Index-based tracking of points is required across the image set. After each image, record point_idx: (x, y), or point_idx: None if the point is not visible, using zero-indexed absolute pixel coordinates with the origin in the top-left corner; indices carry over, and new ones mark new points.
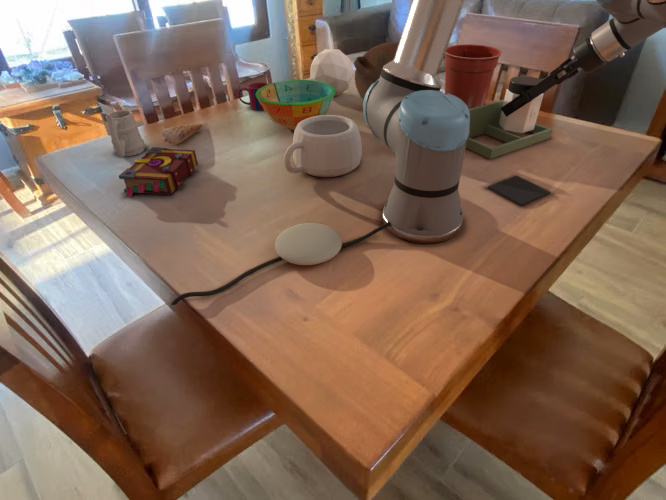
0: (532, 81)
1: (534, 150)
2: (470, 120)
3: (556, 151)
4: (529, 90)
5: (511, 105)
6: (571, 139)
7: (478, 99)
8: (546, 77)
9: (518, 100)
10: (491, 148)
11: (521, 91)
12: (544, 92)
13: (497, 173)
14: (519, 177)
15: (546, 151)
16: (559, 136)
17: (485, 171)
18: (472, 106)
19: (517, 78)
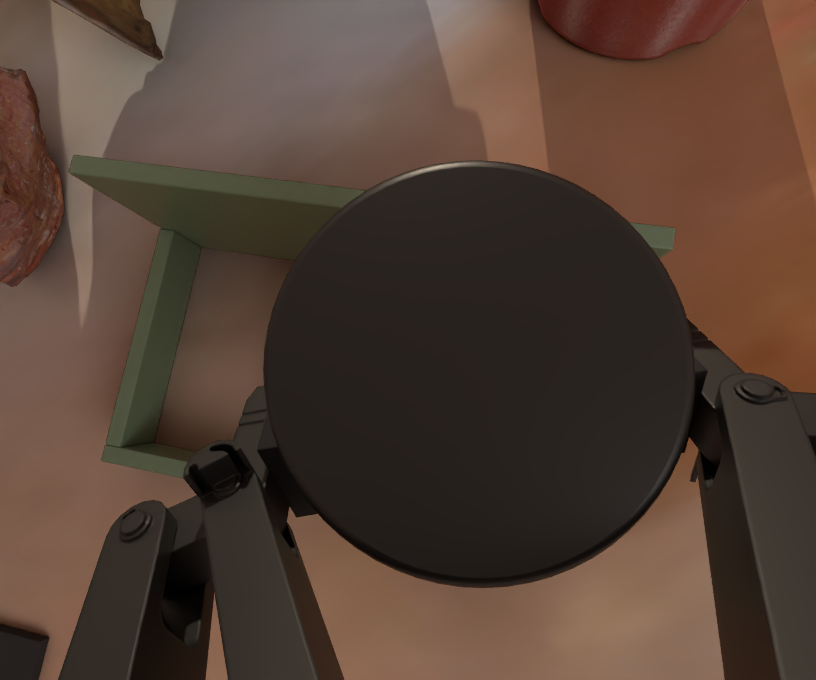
0: (475, 428)
1: (362, 558)
2: (207, 216)
3: (430, 652)
4: (94, 595)
5: None
6: (646, 644)
7: (632, 5)
8: (745, 517)
9: (236, 440)
10: (110, 450)
11: (201, 452)
12: (692, 475)
13: (37, 555)
14: (31, 663)
15: (394, 611)
16: (634, 572)
17: (24, 506)
18: (588, 28)
19: (461, 221)
